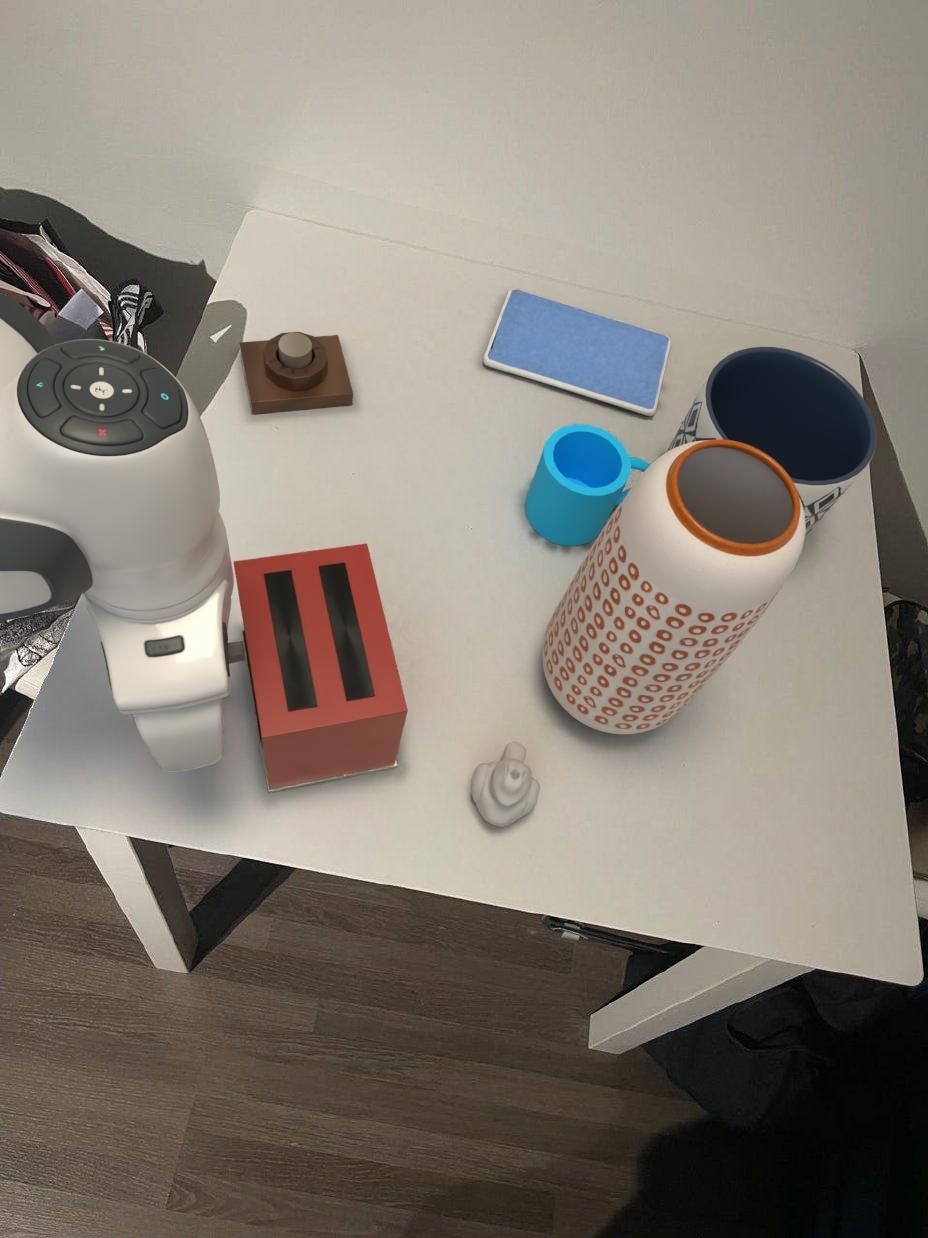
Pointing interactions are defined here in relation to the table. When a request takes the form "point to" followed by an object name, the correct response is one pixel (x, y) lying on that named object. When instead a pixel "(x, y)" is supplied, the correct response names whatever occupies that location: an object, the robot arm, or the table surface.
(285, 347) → the button
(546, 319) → the tablet
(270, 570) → the toaster
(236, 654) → the toaster slider
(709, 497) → the vase
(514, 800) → the rubber duck
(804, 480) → the planter
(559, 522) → the mug
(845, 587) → the table surface
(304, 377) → the control block
